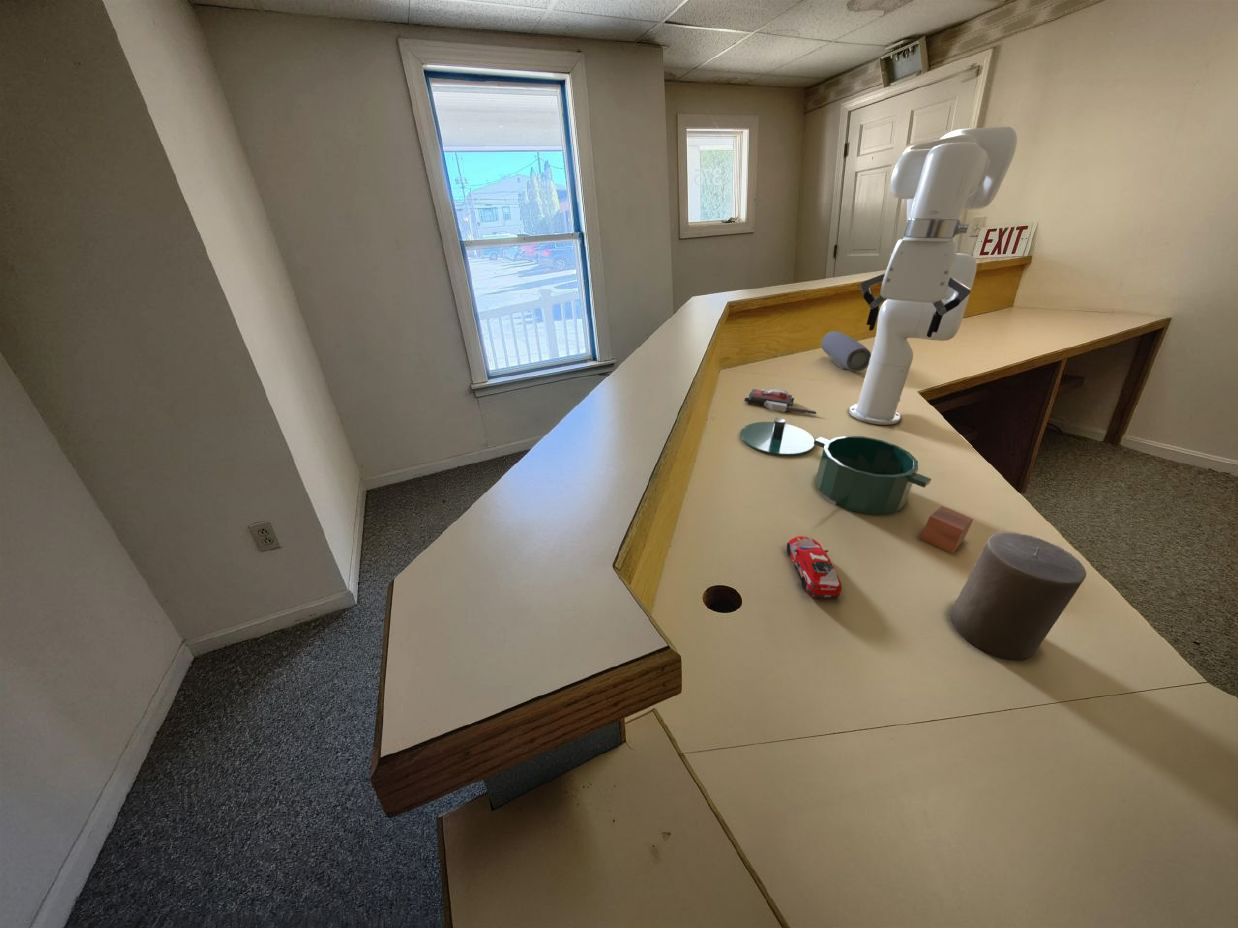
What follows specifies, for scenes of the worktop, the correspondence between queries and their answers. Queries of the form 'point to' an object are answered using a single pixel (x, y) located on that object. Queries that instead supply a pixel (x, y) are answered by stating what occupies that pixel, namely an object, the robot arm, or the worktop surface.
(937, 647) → the worktop surface
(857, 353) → the bluetooth speaker
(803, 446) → the lid
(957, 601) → the pillar candle
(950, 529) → the block
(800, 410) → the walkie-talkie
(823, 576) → the race car
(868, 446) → the pot
